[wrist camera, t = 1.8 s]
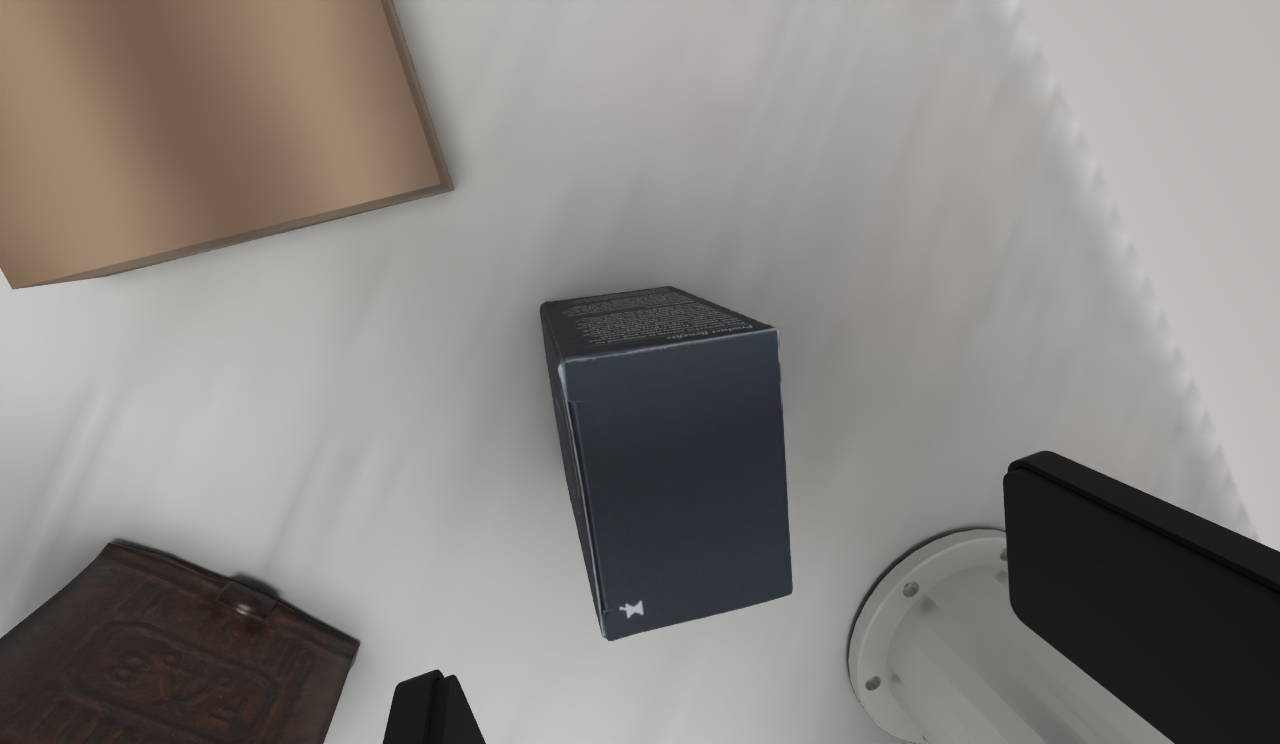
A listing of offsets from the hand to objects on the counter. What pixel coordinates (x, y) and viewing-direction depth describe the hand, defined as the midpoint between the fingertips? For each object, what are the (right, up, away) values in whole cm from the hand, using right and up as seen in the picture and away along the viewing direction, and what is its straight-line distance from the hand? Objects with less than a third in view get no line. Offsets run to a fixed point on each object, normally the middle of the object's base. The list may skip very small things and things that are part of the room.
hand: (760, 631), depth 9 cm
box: (-3, +4, +16) cm, 16 cm away
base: (-16, +15, +10) cm, 24 cm away
